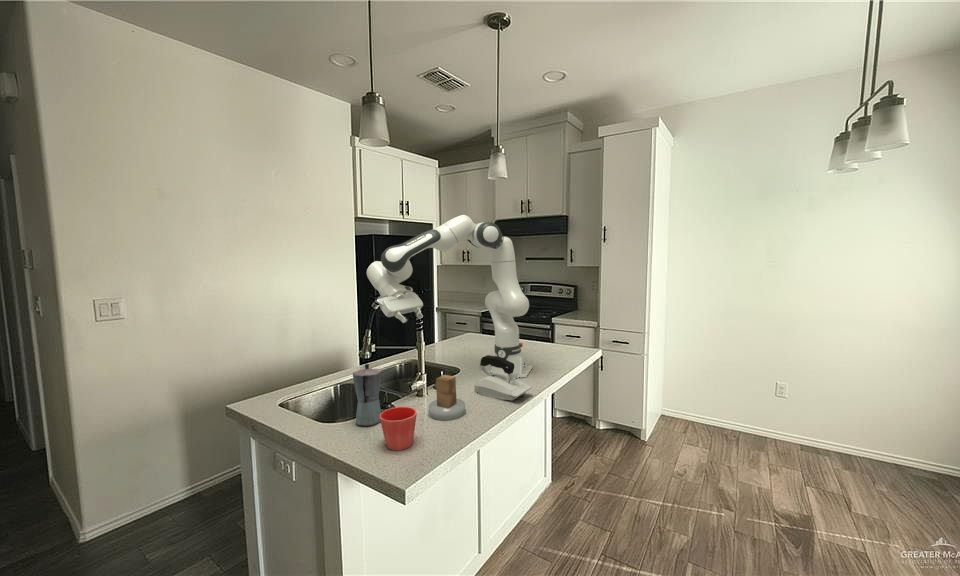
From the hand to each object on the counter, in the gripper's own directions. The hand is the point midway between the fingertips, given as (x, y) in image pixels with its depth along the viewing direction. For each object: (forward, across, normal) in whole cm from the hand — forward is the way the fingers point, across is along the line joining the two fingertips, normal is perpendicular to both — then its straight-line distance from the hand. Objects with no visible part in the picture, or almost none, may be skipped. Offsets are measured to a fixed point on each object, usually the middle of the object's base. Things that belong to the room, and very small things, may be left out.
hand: (413, 319), depth 151 cm
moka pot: (+23, -26, +22) cm, 41 cm away
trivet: (+37, -8, +8) cm, 38 cm away
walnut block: (+34, -8, +6) cm, 36 cm away
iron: (+43, +16, +2) cm, 46 cm away
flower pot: (+37, -33, +8) cm, 50 cm away
